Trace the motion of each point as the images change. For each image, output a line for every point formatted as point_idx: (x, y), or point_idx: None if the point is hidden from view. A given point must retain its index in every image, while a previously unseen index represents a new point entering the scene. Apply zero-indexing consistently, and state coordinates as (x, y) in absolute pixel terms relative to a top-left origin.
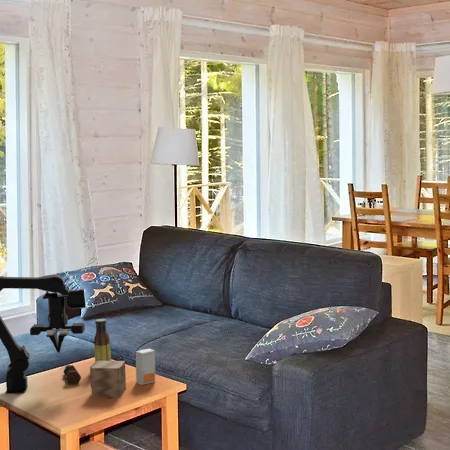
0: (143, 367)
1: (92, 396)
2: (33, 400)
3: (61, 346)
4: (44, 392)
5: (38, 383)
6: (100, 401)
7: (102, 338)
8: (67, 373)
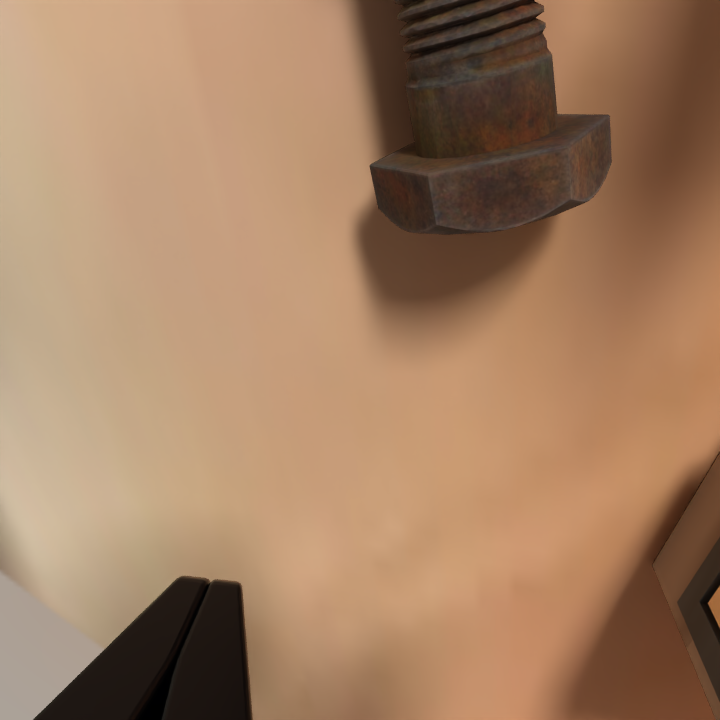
0: None
1: (659, 567)
2: (152, 553)
3: (251, 713)
4: (189, 388)
5: (6, 45)
6: None
7: None
8: (407, 171)
